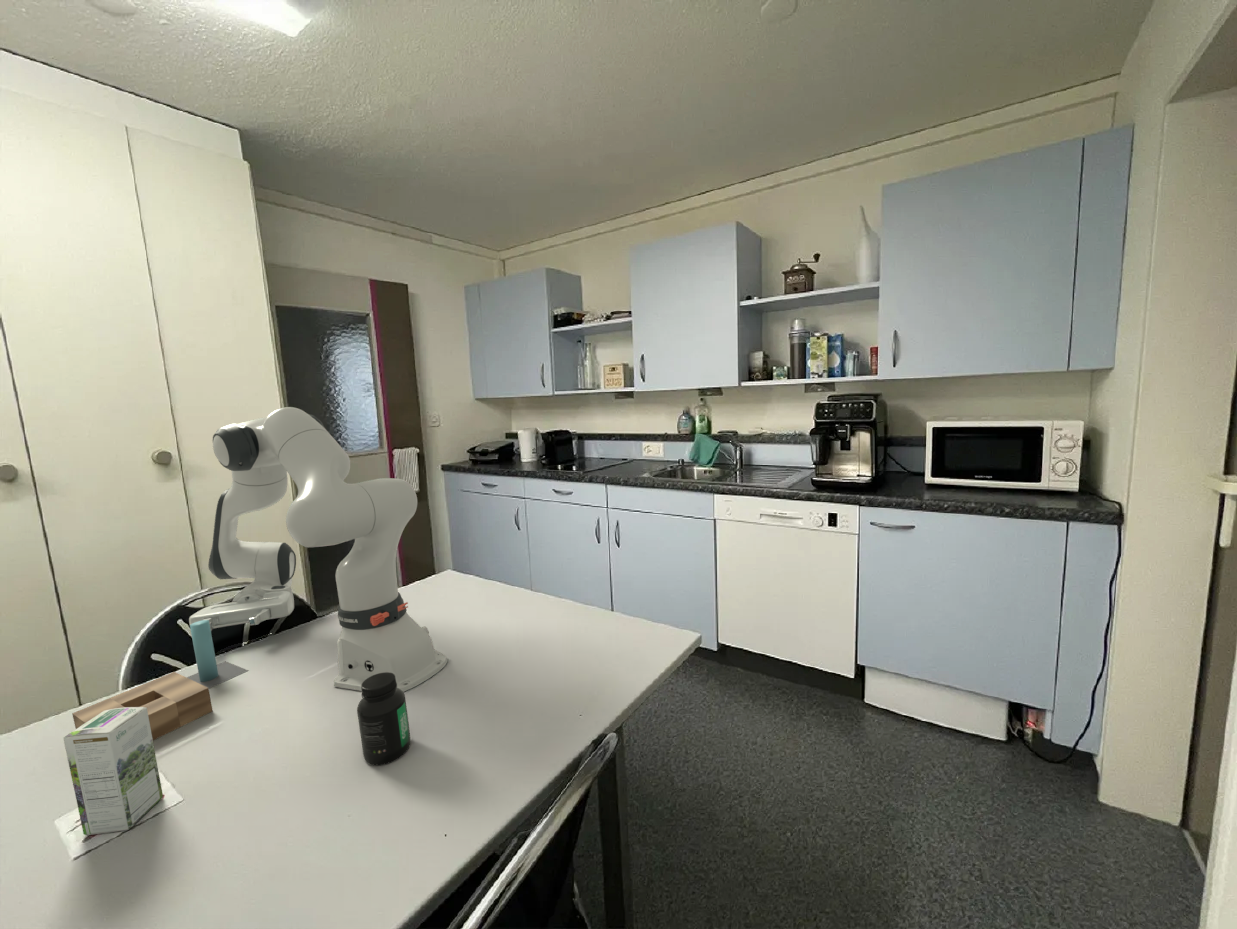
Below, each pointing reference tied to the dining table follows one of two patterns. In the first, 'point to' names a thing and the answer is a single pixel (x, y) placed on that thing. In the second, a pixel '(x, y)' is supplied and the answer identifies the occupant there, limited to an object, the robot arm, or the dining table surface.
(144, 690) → the hole block
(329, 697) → the dining table surface
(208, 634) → the peg
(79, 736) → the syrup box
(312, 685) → the dining table surface
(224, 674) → the mat
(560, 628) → the dining table surface
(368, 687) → the supplement bottle
